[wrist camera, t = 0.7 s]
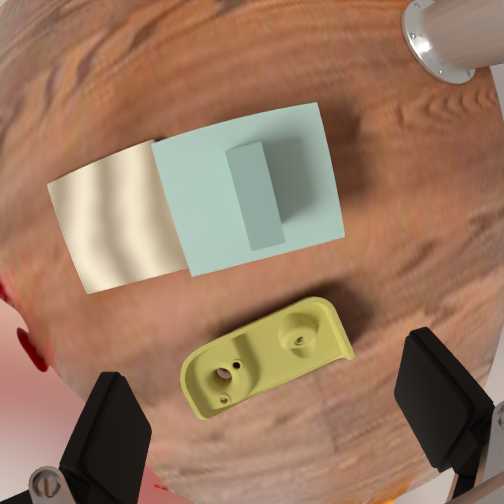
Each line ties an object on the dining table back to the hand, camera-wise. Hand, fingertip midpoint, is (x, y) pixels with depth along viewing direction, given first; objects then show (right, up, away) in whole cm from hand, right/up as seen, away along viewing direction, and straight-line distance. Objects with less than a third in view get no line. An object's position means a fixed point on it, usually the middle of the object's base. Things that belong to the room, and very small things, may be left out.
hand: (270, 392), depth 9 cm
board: (-16, +8, +22) cm, 28 cm away
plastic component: (+1, -7, +28) cm, 29 cm away
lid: (-1, +10, +17) cm, 19 cm away
